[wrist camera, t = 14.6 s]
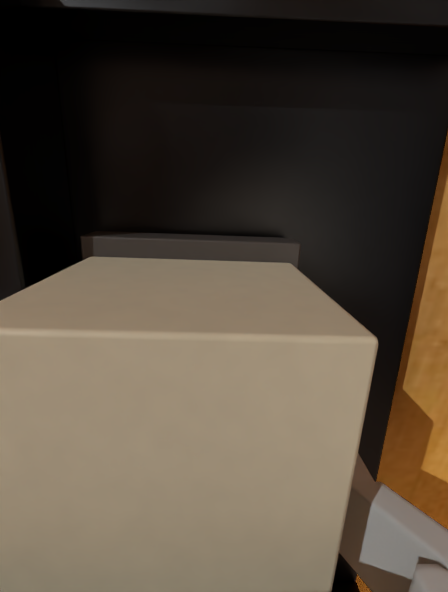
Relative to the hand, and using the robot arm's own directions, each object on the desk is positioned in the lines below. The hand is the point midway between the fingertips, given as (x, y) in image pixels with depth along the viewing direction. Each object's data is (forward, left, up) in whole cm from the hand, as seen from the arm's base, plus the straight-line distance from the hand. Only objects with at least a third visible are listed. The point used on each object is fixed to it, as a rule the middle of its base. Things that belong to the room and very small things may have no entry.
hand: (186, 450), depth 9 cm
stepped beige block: (+2, 0, -2) cm, 3 cm away
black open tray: (0, +1, -4) cm, 4 cm away
